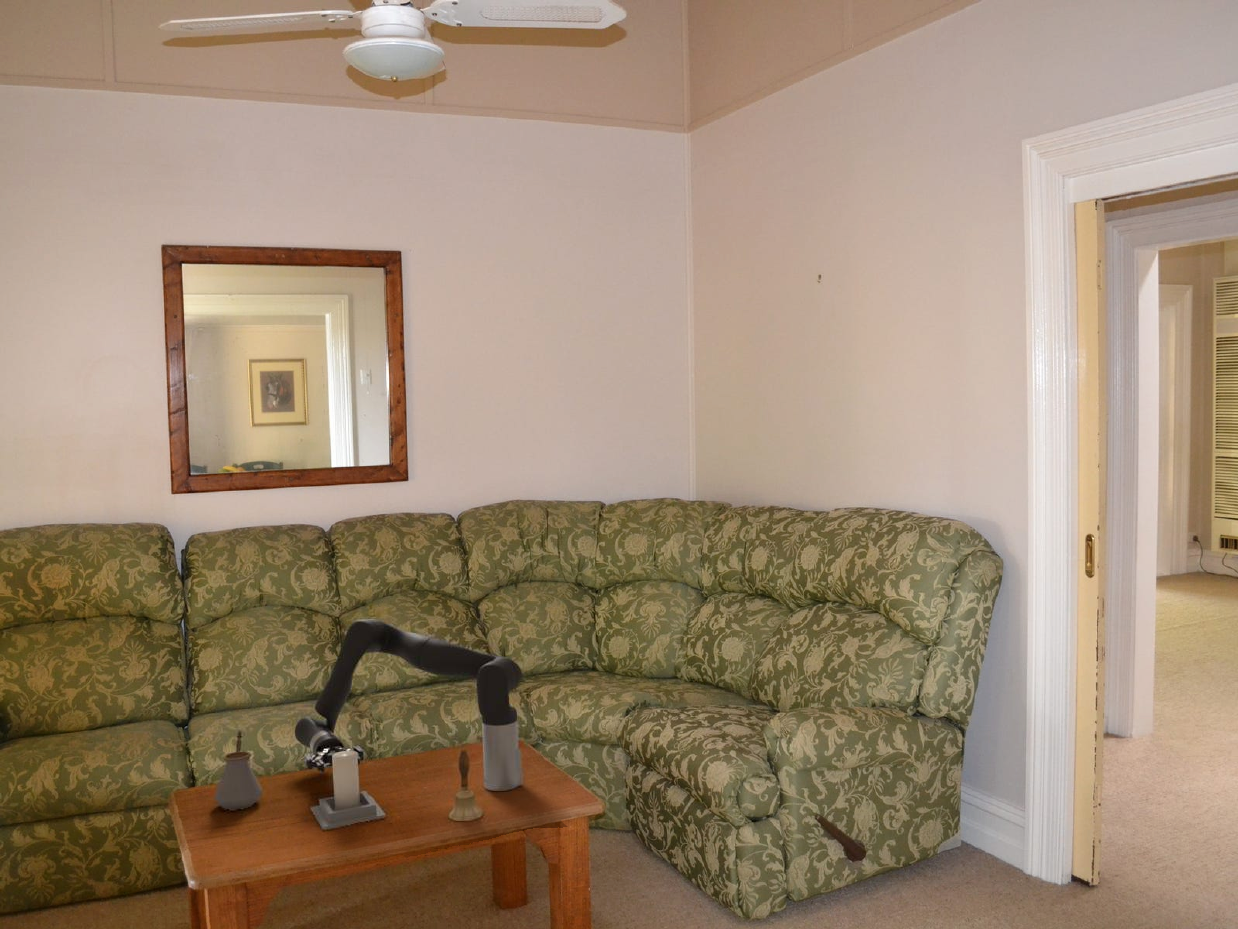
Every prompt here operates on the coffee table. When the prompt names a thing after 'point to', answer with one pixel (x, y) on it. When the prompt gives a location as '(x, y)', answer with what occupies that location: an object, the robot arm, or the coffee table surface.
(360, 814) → the candle dish
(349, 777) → the candle
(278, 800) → the coffee table surface
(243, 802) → the coffee pot
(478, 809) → the hand bell
